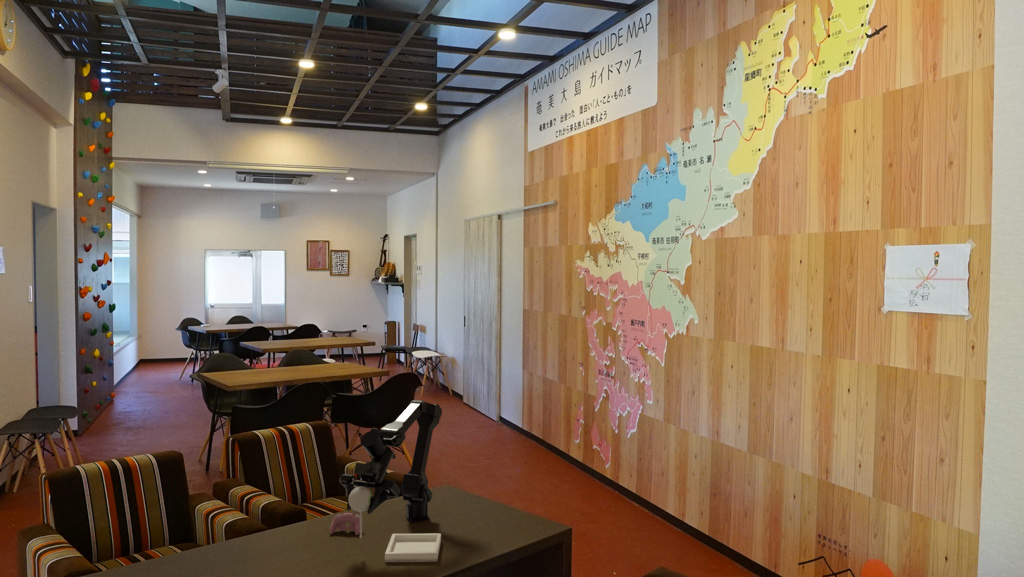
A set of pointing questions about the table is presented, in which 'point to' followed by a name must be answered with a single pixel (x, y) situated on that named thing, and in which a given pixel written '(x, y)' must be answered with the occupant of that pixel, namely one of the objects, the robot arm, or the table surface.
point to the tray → (413, 548)
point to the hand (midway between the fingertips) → (358, 511)
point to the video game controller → (342, 519)
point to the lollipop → (360, 501)
